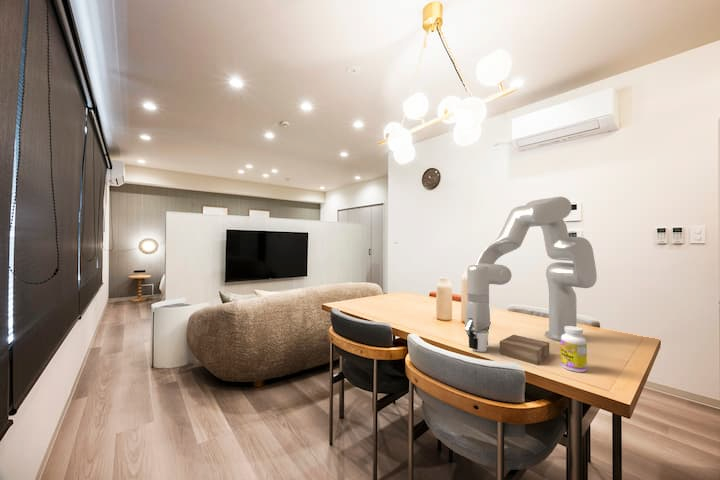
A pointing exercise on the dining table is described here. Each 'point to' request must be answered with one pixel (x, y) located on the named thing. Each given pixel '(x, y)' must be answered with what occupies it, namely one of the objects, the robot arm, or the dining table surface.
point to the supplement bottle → (573, 349)
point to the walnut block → (524, 349)
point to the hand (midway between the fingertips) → (478, 345)
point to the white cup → (482, 340)
